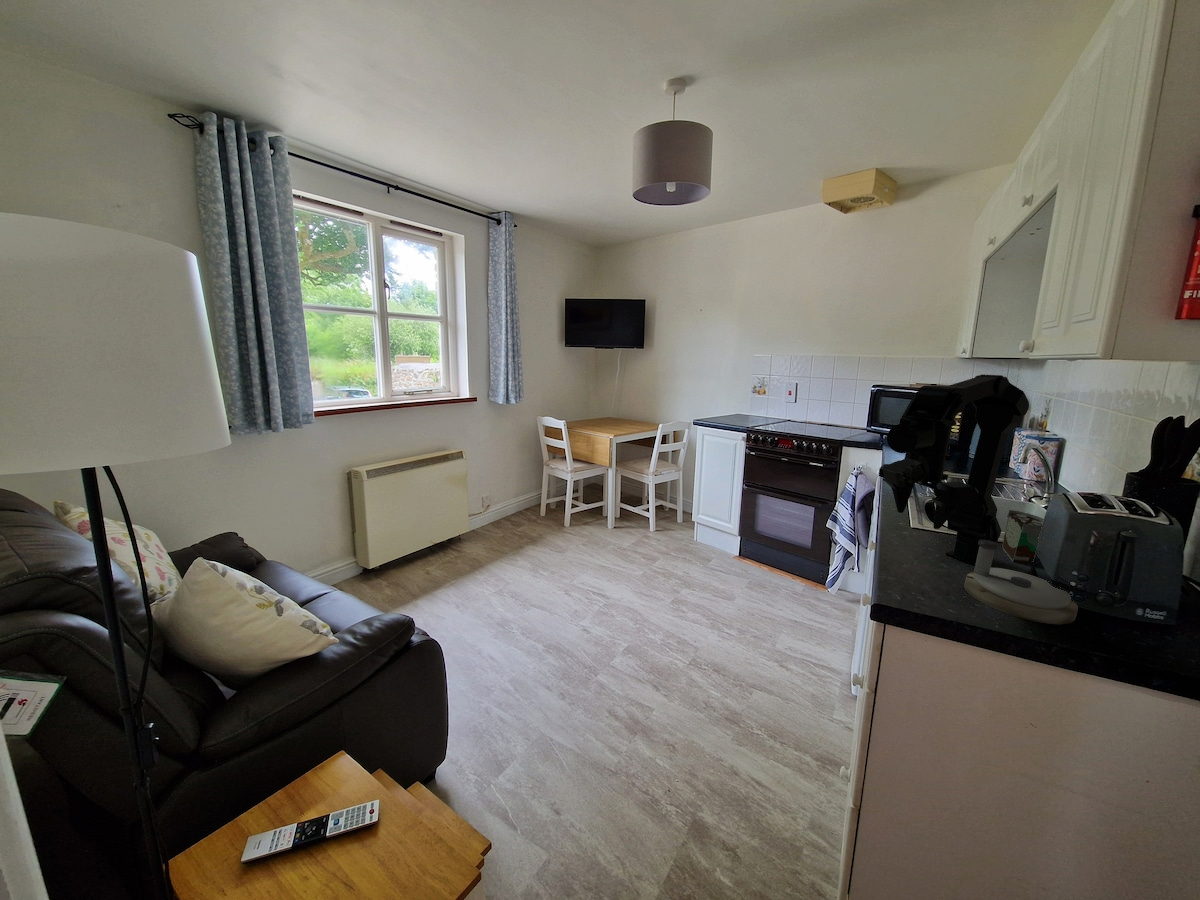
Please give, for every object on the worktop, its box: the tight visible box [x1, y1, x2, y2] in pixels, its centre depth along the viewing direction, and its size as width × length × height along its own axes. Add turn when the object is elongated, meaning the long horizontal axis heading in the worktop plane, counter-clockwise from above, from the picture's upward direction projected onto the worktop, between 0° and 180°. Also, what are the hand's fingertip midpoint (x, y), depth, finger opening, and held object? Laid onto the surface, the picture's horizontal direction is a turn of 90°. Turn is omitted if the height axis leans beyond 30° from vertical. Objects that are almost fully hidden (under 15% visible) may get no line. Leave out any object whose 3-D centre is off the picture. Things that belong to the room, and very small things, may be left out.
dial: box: [973, 539, 1072, 609], centre depth 88 cm, size 14×14×8 cm
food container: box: [1001, 509, 1044, 564], centre depth 108 cm, size 12×6×10 cm, turn 151°
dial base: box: [963, 571, 1079, 625], centre depth 89 cm, size 16×16×2 cm
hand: (917, 520), depth 95 cm, fingers open, 9 cm apart
